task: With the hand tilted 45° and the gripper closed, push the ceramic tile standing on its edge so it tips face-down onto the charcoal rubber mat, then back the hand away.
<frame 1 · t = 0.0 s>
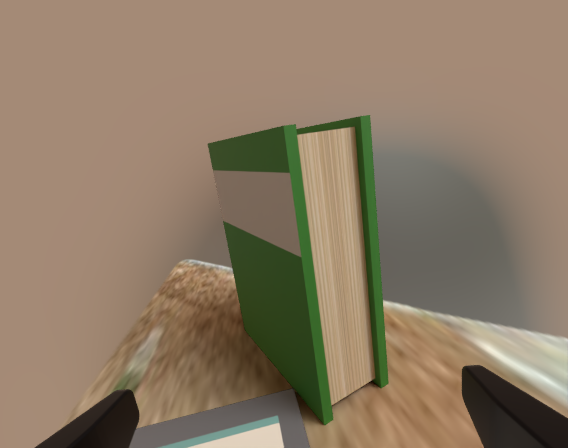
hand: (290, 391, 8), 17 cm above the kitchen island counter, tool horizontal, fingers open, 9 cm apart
hardback book: (304, 353, 35), on the kitchen island counter
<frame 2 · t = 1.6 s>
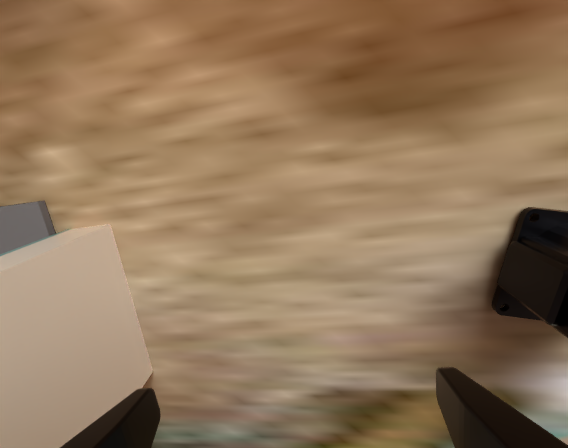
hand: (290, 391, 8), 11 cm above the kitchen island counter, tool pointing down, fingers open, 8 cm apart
tile: (115, 304, 21), on the kitchen island counter
mat: (2, 315, 22), on the kitchen island counter
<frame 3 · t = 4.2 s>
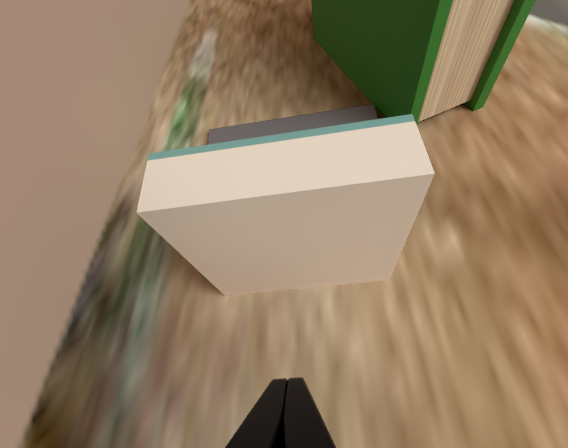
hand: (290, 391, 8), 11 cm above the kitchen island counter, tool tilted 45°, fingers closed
tile: (303, 269, 22), on the kitchen island counter
hardback book: (386, 69, 31), on the kitchen island counter
mat: (294, 172, 26), on the kitchen island counter
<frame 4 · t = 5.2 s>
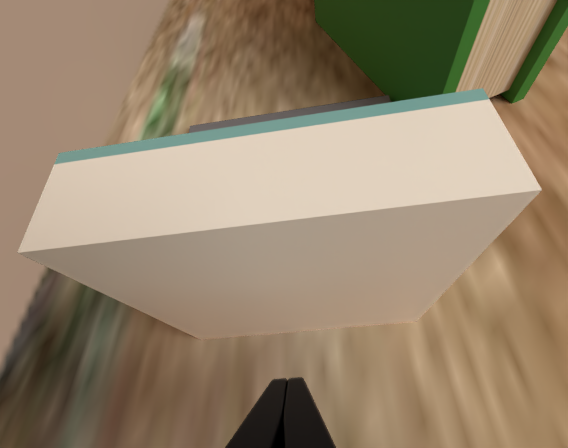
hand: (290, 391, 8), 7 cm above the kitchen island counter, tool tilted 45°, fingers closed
tile: (302, 305, 17), on the kitchen island counter
hardback book: (401, 55, 26), on the kitchen island counter
mat: (292, 178, 21), on the kitchen island counter
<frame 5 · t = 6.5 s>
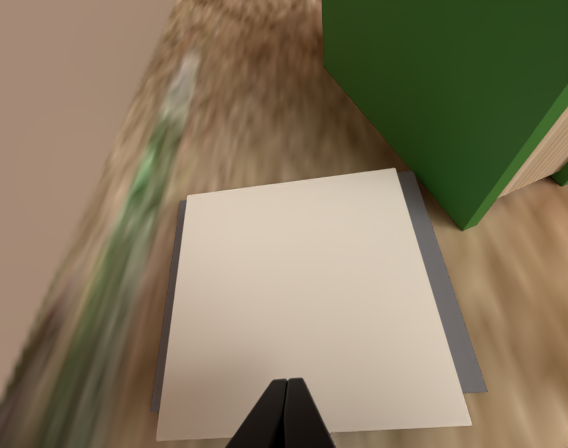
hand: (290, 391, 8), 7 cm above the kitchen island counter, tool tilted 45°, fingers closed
tile: (308, 431, 12), point 2 cm above the kitchen island counter, tilted 90°, touching mat
hardback book: (425, 114, 22), on the kitchen island counter
mat: (300, 278, 17), on the kitchen island counter
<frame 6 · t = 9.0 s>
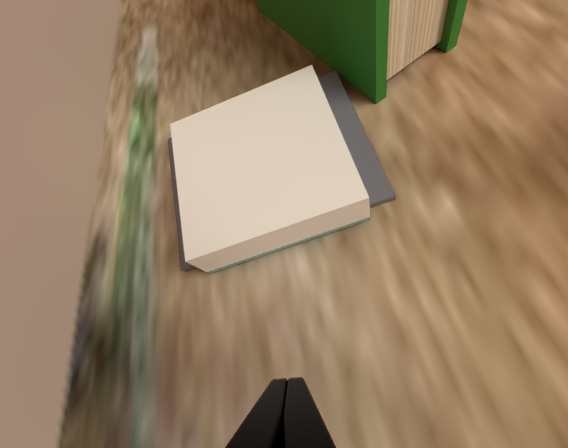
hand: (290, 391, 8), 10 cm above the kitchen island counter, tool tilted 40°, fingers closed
tile: (279, 238, 19), point 2 cm above the kitchen island counter, tilted 90°, touching mat
hardback book: (343, 26, 27), on the kitchen island counter
mat: (266, 166, 24), on the kitchen island counter
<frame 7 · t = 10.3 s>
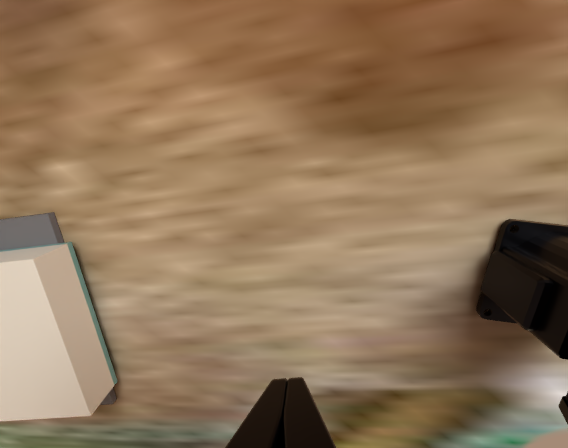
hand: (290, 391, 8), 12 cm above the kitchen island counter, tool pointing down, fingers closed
tile: (78, 330, 20), point 2 cm above the kitchen island counter, tilted 90°, touching mat
mat: (12, 320, 23), on the kitchen island counter
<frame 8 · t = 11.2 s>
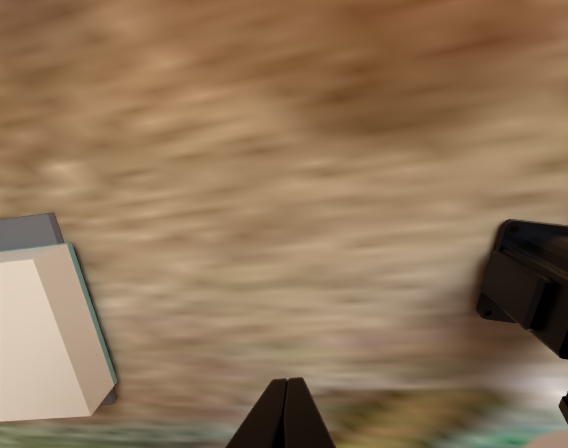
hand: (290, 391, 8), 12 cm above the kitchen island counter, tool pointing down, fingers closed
tile: (78, 330, 20), point 2 cm above the kitchen island counter, tilted 90°, touching mat
mat: (12, 320, 23), on the kitchen island counter
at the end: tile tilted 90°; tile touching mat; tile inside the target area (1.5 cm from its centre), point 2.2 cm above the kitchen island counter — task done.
